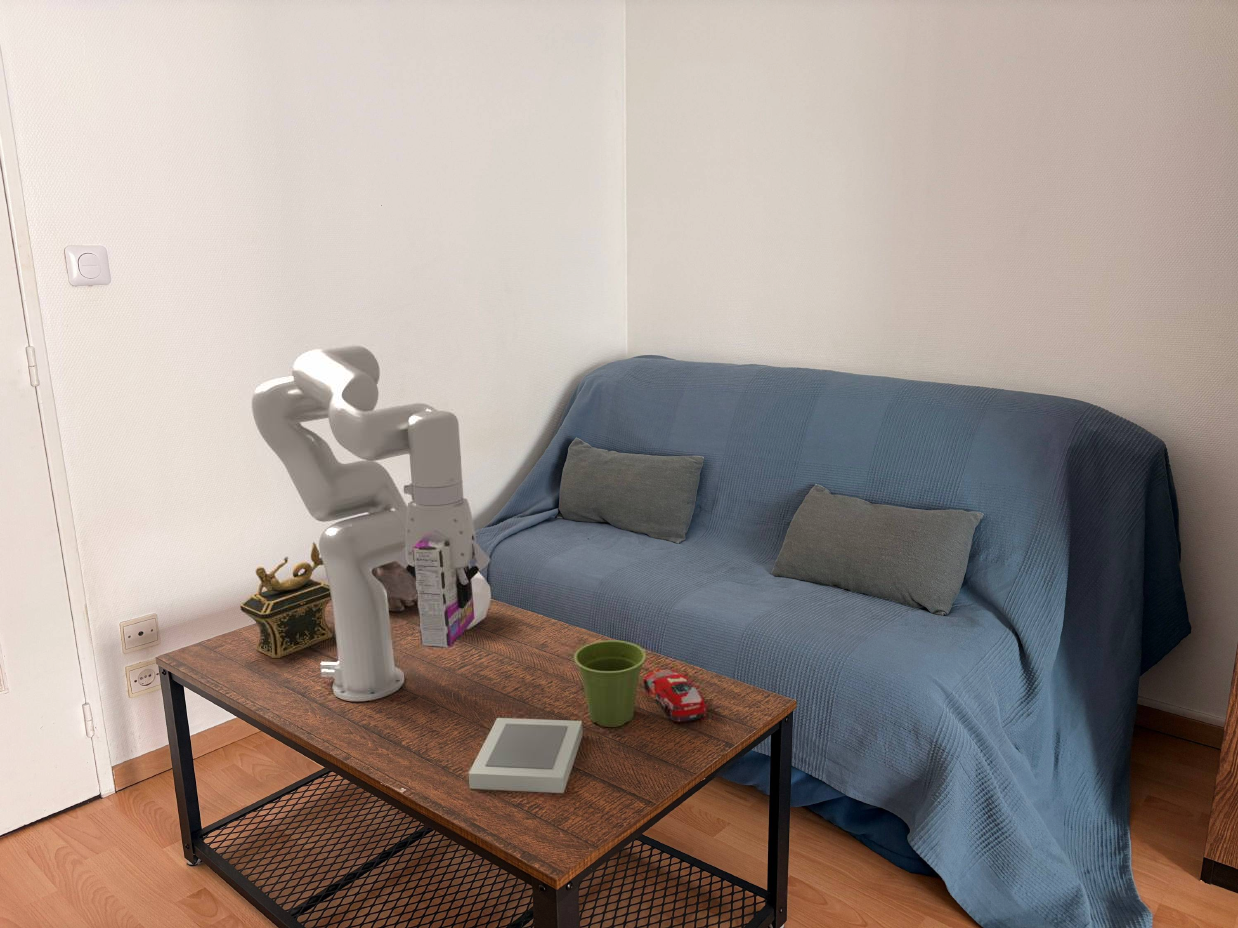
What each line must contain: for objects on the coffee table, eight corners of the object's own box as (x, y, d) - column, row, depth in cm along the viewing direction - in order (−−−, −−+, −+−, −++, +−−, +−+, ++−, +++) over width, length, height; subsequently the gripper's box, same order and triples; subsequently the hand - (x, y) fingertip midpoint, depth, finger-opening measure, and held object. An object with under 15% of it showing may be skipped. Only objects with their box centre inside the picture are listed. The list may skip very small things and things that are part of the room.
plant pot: (592, 742, 145) (589, 677, 142) (566, 709, 155) (563, 648, 153) (659, 725, 149) (658, 661, 146) (630, 694, 160) (628, 634, 157)
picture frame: (469, 788, 134) (468, 771, 133) (498, 731, 149) (497, 716, 148) (563, 792, 132) (562, 776, 131) (582, 734, 147) (581, 719, 146)
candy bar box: (446, 617, 150) (439, 522, 146) (475, 619, 149) (469, 523, 145) (418, 647, 139) (410, 545, 135) (449, 649, 138) (442, 547, 134)
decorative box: (270, 664, 176) (257, 568, 172) (244, 651, 183) (231, 558, 178) (358, 629, 191) (348, 540, 187) (331, 618, 197) (321, 532, 193)
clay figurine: (403, 594, 210) (393, 489, 204) (436, 601, 205) (426, 494, 199) (361, 614, 199) (349, 504, 193) (395, 622, 194) (383, 510, 188)
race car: (639, 686, 163) (639, 660, 162) (674, 679, 165) (674, 654, 164) (673, 729, 148) (672, 701, 147) (711, 721, 150) (710, 694, 149)
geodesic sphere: (400, 601, 191) (422, 558, 183) (449, 581, 201) (472, 540, 194) (441, 652, 186) (465, 611, 178) (489, 629, 196) (514, 589, 189)
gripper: (374, 499, 136) (384, 612, 140) (485, 501, 133) (492, 616, 138) (393, 485, 143) (402, 593, 148) (499, 487, 141) (505, 596, 145)
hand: (446, 603), depth 143 cm, fingers closed on candy bar box, 5 cm apart
